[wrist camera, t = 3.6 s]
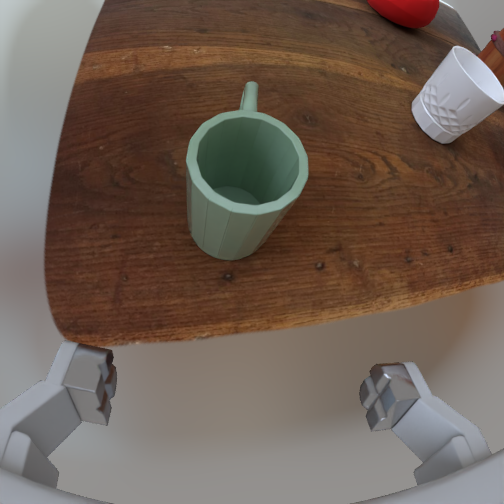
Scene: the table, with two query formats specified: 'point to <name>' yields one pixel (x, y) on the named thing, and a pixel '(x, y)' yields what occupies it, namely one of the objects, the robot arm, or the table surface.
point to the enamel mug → (241, 179)
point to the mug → (495, 55)
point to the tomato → (407, 11)
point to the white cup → (457, 96)
